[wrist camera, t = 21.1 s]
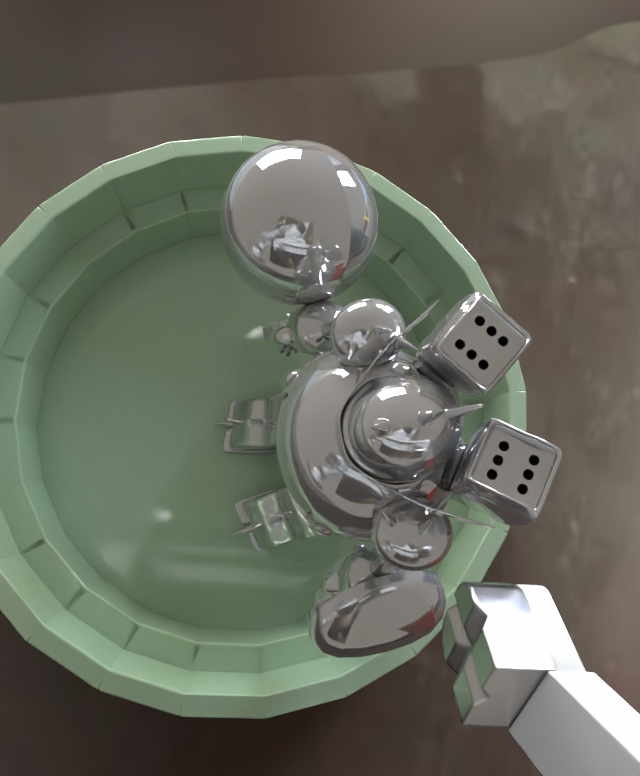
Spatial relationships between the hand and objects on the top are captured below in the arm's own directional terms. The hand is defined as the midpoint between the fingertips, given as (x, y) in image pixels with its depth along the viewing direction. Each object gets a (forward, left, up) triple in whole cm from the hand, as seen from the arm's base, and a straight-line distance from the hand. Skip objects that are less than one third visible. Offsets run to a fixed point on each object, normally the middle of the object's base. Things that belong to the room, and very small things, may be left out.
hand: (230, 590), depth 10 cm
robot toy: (+2, +5, -14) cm, 15 cm away
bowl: (0, +5, -15) cm, 16 cm away
